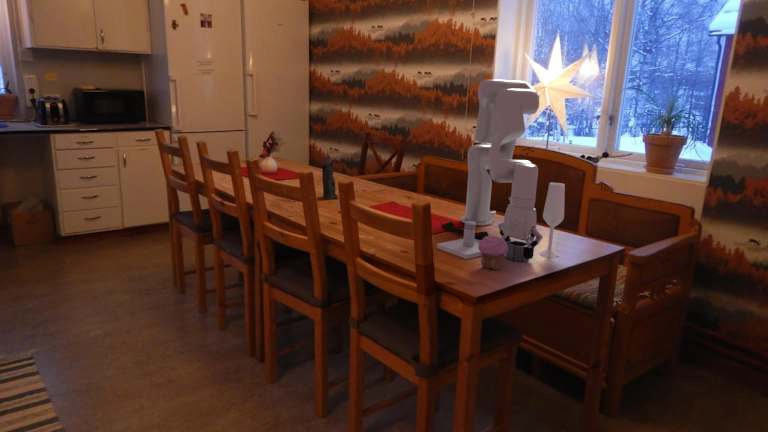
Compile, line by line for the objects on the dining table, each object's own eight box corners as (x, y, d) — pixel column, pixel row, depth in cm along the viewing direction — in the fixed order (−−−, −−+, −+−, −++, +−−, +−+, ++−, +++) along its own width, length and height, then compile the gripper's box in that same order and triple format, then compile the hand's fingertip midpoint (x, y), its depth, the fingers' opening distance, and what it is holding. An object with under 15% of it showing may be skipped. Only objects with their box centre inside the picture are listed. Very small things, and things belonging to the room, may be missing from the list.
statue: (339, 198, 253) (340, 156, 248) (328, 200, 248) (328, 157, 243) (330, 196, 258) (330, 154, 253) (318, 198, 253) (318, 155, 248)
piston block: (469, 241, 191) (471, 215, 189) (499, 251, 181) (502, 224, 178) (436, 247, 182) (438, 220, 180) (466, 259, 171) (468, 230, 169)
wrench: (451, 230, 212) (500, 246, 186) (441, 232, 210) (488, 248, 183) (451, 217, 211) (500, 231, 185) (440, 219, 209) (488, 234, 182)
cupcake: (472, 268, 163) (474, 236, 161) (483, 261, 170) (486, 230, 168) (499, 274, 158) (502, 242, 156) (510, 267, 165) (513, 235, 163)
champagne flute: (534, 253, 180) (542, 183, 174) (546, 250, 184) (554, 181, 178) (551, 258, 175) (559, 186, 169) (563, 255, 179) (572, 184, 173)
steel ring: (515, 253, 179) (516, 239, 178) (532, 259, 173) (534, 244, 172) (500, 257, 175) (502, 242, 173) (518, 263, 169) (520, 248, 168)
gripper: (493, 198, 174) (489, 249, 178) (537, 209, 161) (531, 264, 165) (508, 196, 178) (503, 246, 183) (552, 206, 165) (546, 260, 169)
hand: (517, 254), depth 174 cm, fingers open, 8 cm apart
